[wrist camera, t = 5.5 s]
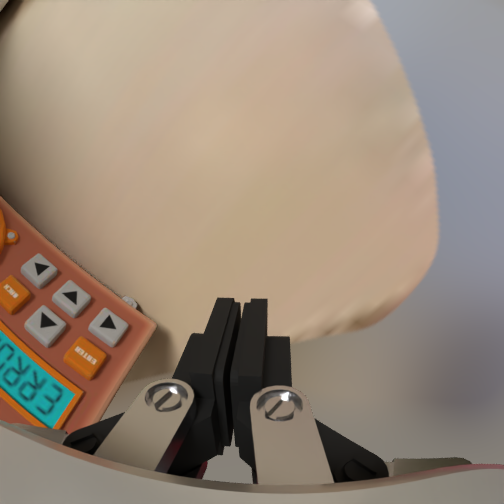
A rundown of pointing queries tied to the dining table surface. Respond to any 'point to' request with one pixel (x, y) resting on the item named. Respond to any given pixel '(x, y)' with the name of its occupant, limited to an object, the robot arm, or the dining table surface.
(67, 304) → the control panel
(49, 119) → the dining table surface
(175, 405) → the robot arm
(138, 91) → the dining table surface
